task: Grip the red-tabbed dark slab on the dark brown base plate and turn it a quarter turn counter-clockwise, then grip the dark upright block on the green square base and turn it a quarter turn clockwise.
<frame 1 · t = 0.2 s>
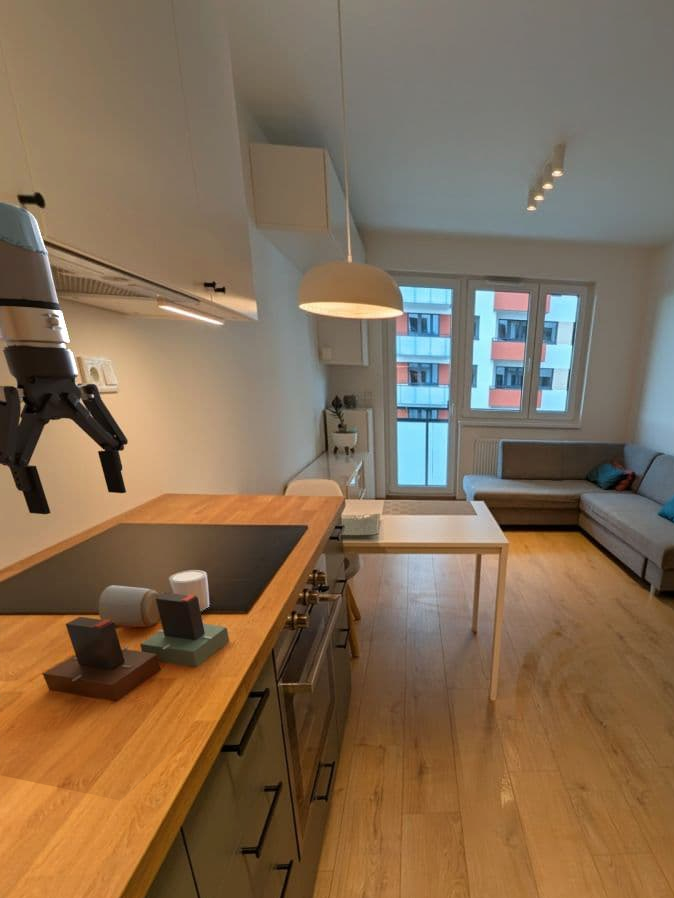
hand: (81, 502, 77), 26 cm above the worktop, tool pointing down, fingers open, 13 cm apart
dark upright block: (180, 615, 85), point 7 cm above the worktop, hinge at 0.0°
red-tabbed dark slab: (95, 642, 77), point 7 cm above the worktop, hinge at 0.0°
grey lying cylinder: (139, 622, 97), on the worktop
dark brown base plate: (107, 679, 79), on the worktop
green square base: (188, 650, 88), on the worktop
white cylinder: (194, 608, 103), on the worktop
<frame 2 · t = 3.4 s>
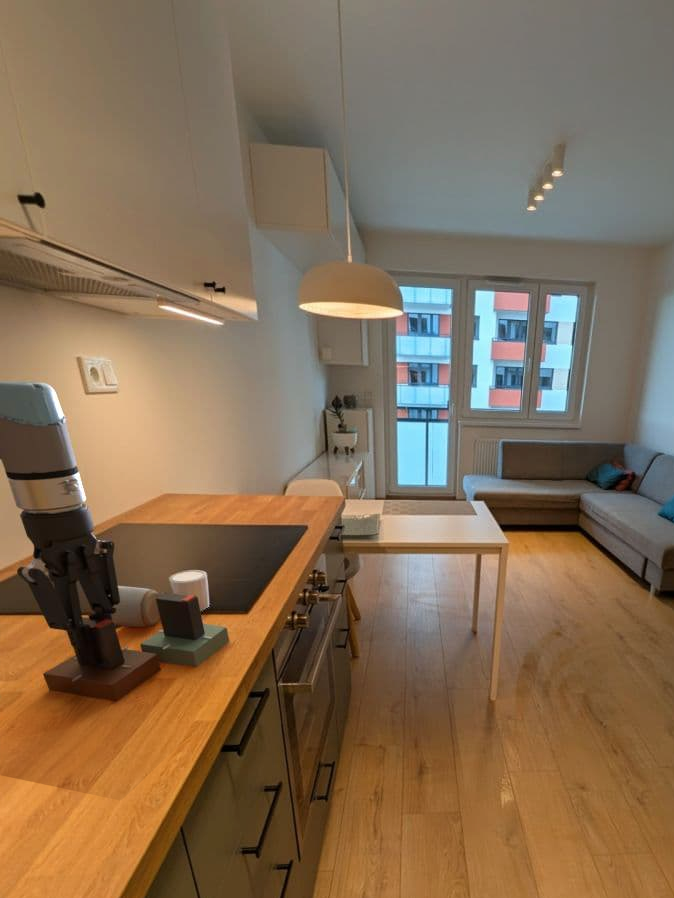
hand: (100, 657, 78), 4 cm above the worktop, tool pointing down, fingers closed on red-tabbed dark slab, 2 cm apart
red-tabbed dark slab: (95, 642, 77), point 7 cm above the worktop, hinge at 0.0°, touching gripper
everything else where it was.
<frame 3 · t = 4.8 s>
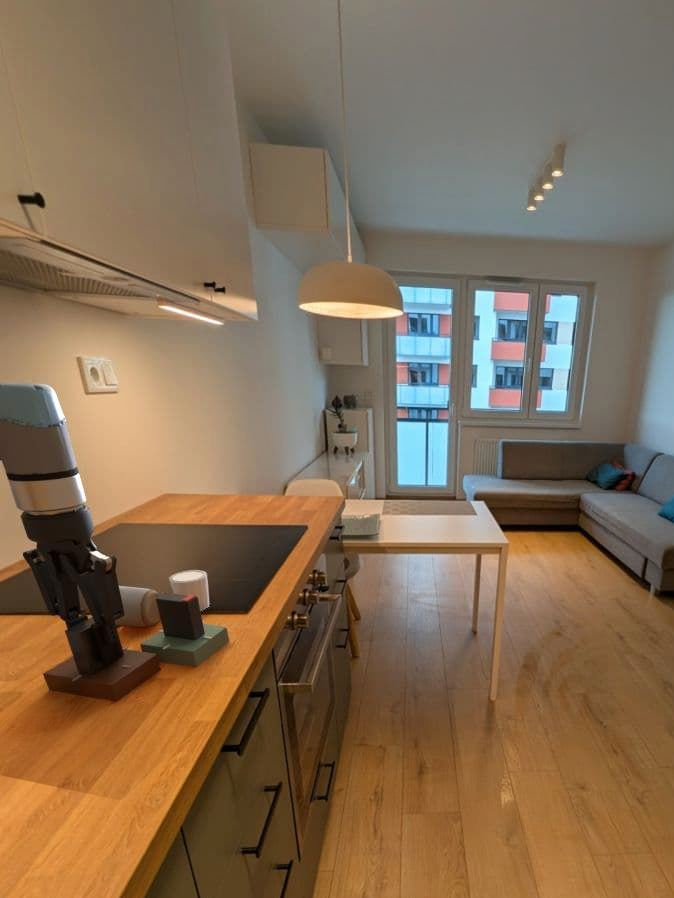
hand: (100, 657, 78), 4 cm above the worktop, tool pointing down, fingers open, 3 cm apart
red-tabbed dark slab: (95, 642, 77), point 7 cm above the worktop, hinge at 89.4°
everything else where it was.
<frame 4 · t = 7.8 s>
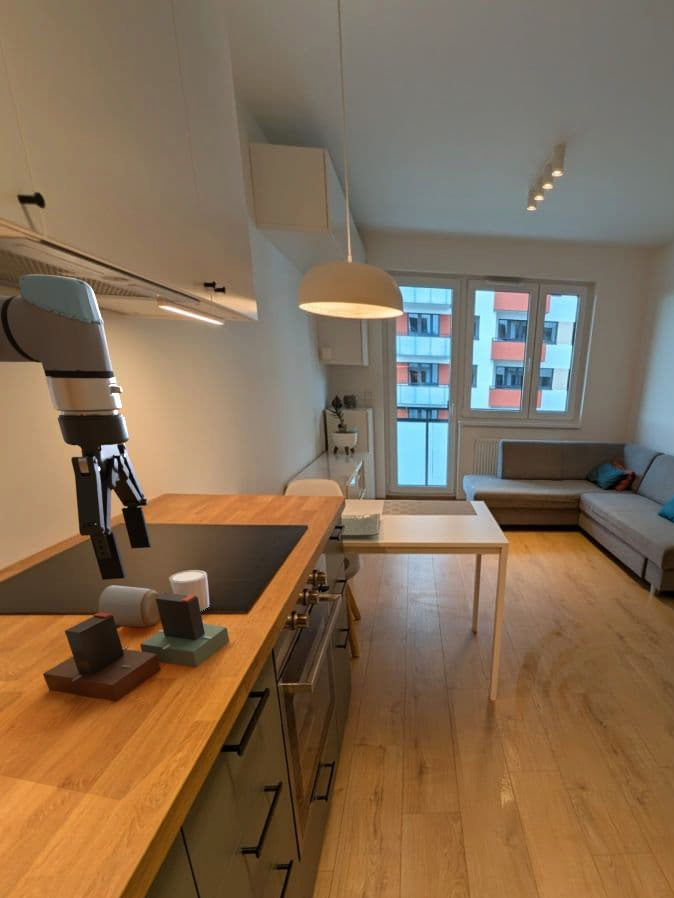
hand: (129, 561, 77), 18 cm above the worktop, tool pointing down, fingers open, 13 cm apart
nothing on the worktop moved.
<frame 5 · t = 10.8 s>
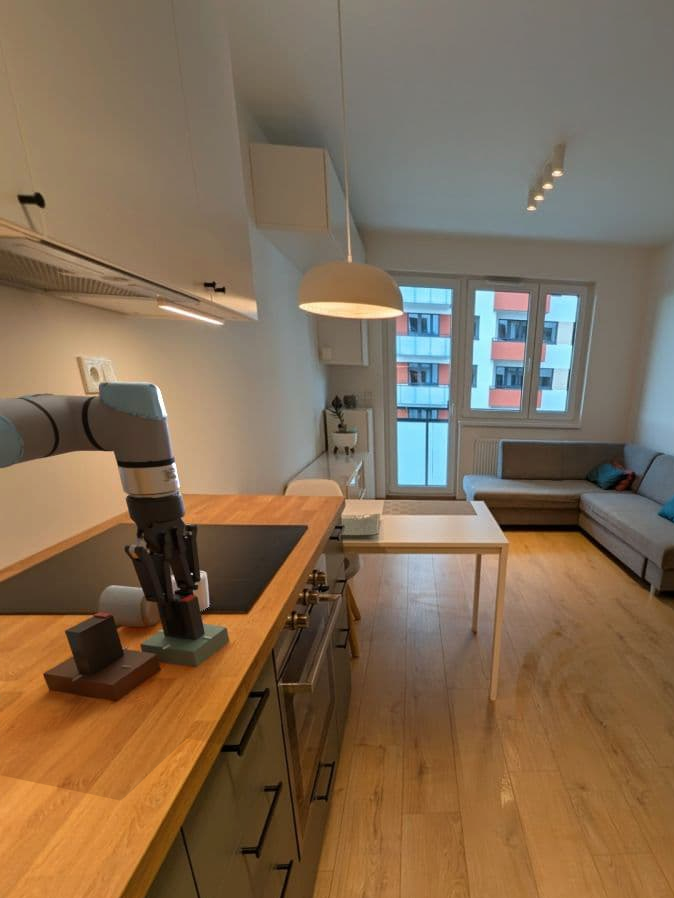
hand: (183, 629, 86), 4 cm above the worktop, tool pointing down, fingers closed on dark upright block, 2 cm apart
dark upright block: (180, 615, 85), point 7 cm above the worktop, hinge at 0.0°, touching gripper
everything else where it was.
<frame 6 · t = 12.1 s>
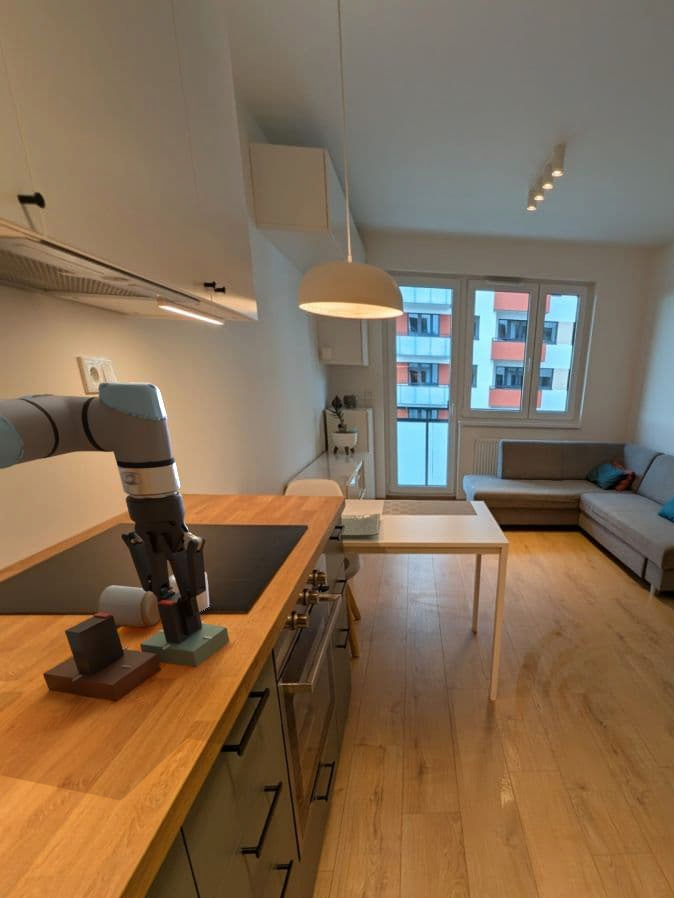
hand: (183, 630, 86), 4 cm above the worktop, tool pointing down, fingers closed on dark upright block, 3 cm apart
dark upright block: (180, 615, 85), point 7 cm above the worktop, hinge at -89.5°, touching gripper
everything else where it was.
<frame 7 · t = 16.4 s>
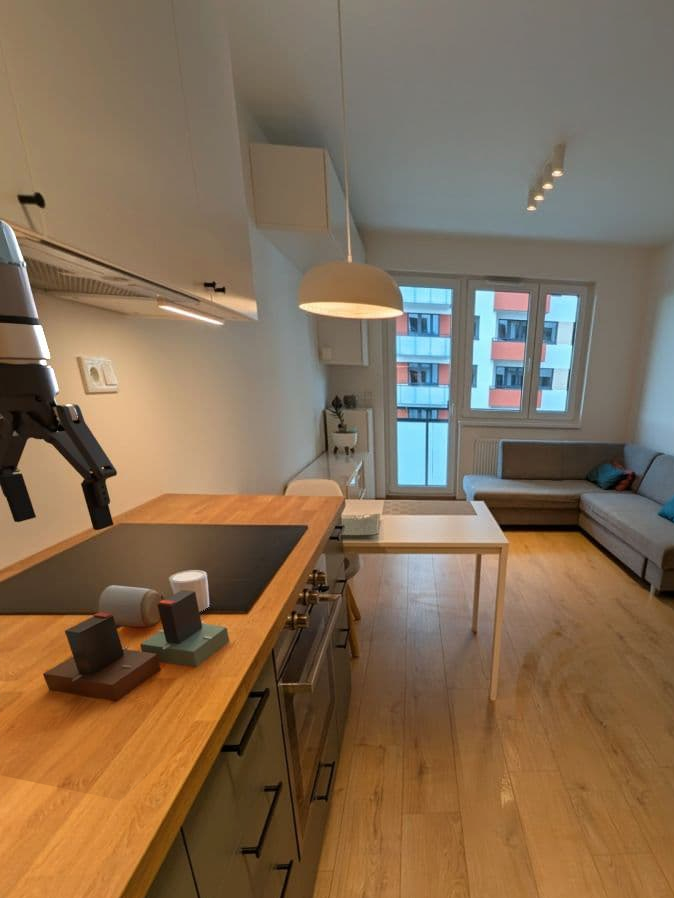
hand: (64, 523, 74), 24 cm above the worktop, tool pointing down, fingers open, 13 cm apart
dark upright block: (180, 615, 85), point 7 cm above the worktop, hinge at -89.6°
everything else where it was.
at the end: red-tabbed dark slab at +89° (first picture: +0°); dark upright block at -90° (first picture: +0°) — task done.
